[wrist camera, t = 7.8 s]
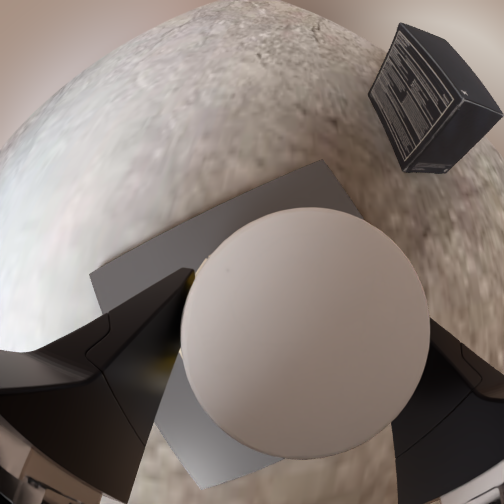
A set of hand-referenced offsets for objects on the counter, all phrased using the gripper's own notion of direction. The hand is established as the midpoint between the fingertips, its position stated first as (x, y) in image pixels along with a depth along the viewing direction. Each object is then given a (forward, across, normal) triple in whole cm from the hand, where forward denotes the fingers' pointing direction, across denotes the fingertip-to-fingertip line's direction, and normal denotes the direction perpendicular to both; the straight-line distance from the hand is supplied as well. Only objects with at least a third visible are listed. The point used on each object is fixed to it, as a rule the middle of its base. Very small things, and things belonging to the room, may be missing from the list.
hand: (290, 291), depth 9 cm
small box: (+21, -13, -6) cm, 25 cm away
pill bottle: (+4, 0, +6) cm, 7 cm away
